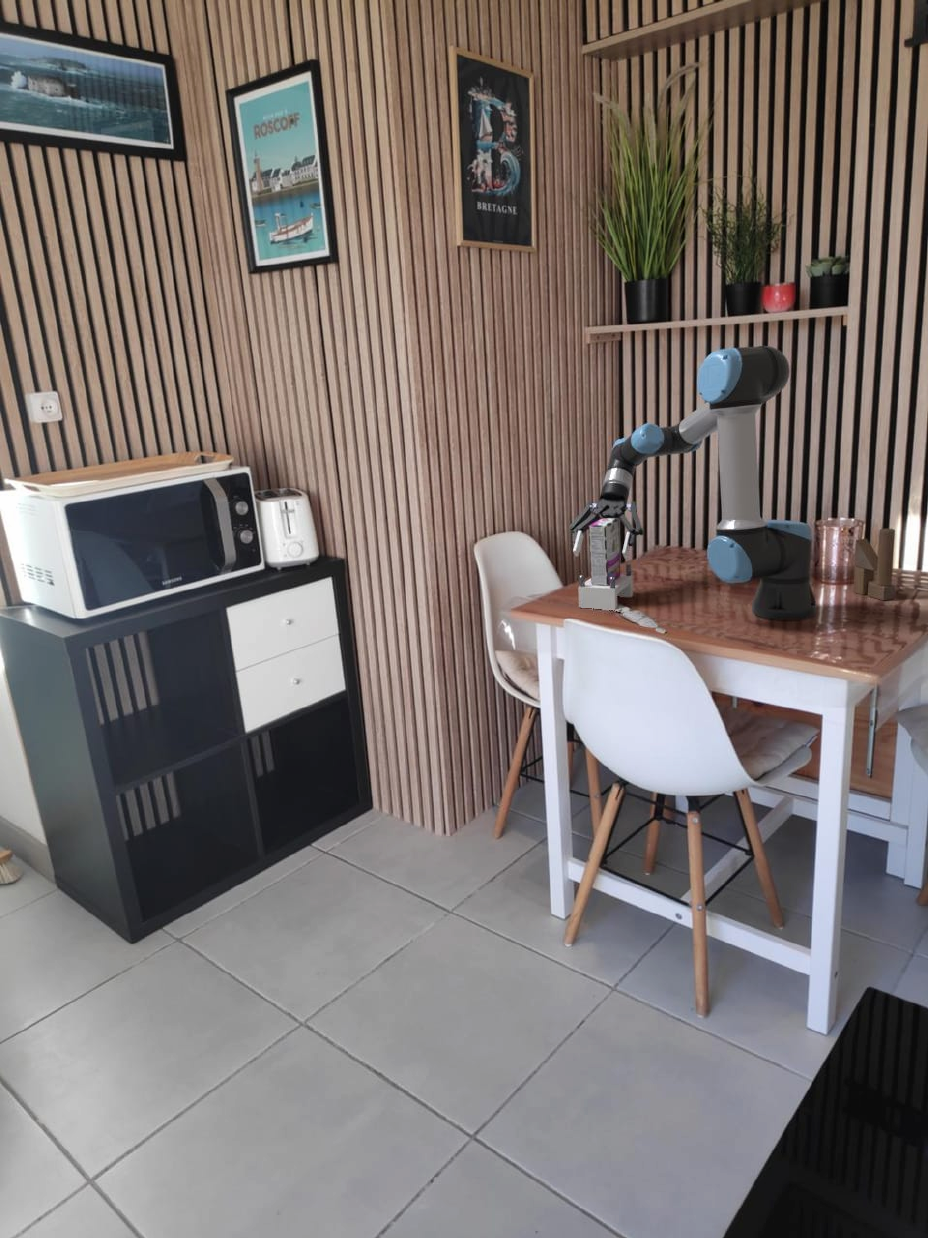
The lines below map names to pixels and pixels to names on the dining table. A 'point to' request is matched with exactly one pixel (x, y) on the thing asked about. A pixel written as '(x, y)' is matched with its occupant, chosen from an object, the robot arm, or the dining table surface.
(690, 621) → the dining table surface
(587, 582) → the peg shelf
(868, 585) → the wooden block stack
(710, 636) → the dining table surface
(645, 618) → the driftwood
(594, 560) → the candy bar box
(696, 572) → the dining table surface
